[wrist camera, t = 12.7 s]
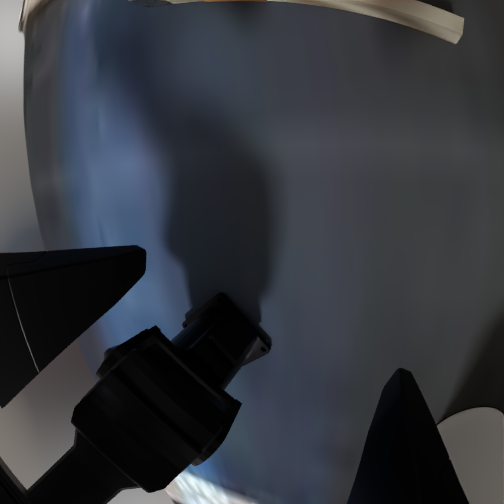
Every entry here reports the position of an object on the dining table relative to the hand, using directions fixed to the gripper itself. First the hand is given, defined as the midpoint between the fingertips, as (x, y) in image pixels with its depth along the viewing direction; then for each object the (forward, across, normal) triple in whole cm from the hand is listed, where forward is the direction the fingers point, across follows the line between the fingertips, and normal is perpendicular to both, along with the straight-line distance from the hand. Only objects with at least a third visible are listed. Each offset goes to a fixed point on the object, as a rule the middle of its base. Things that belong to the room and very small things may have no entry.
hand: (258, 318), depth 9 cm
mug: (+12, -22, +13) cm, 29 cm away
